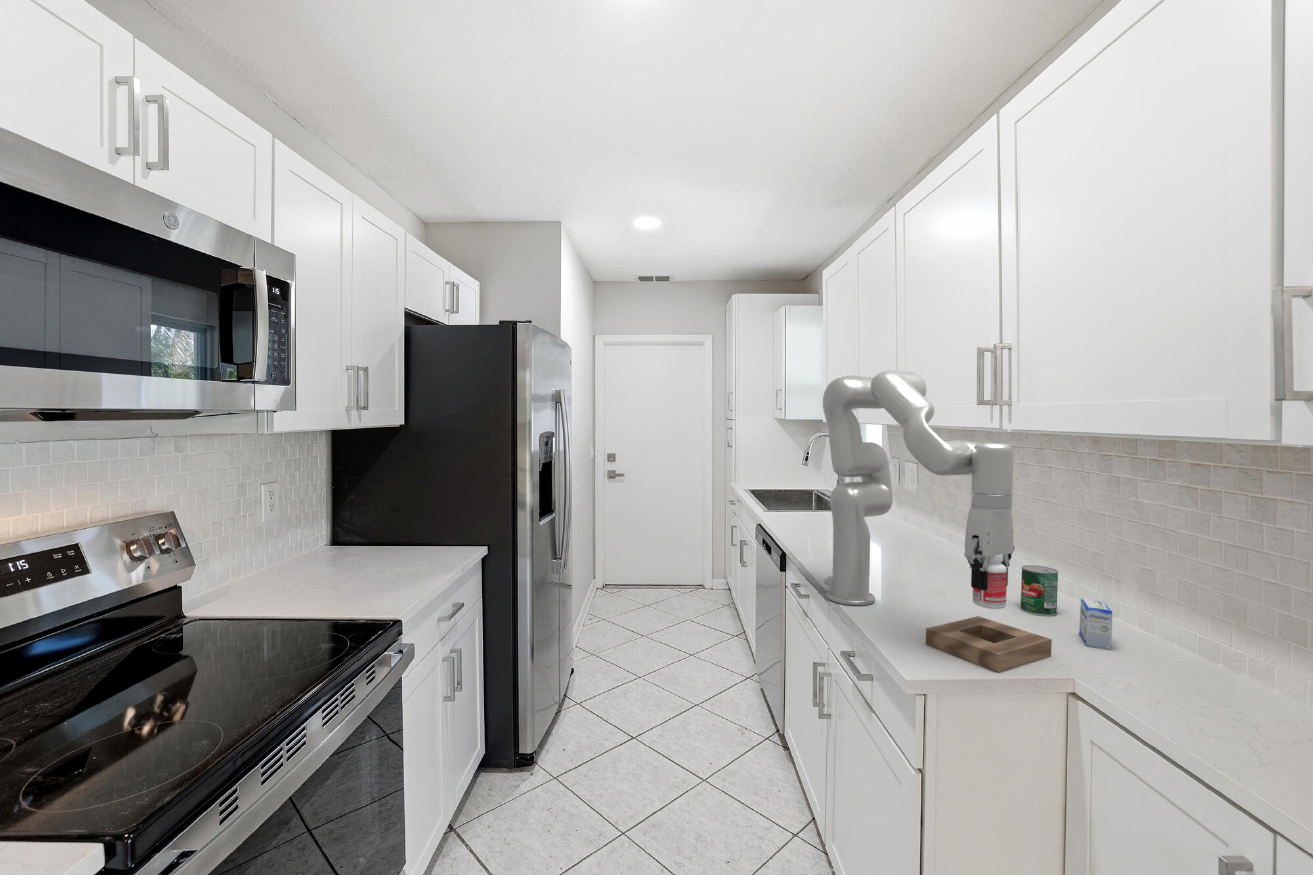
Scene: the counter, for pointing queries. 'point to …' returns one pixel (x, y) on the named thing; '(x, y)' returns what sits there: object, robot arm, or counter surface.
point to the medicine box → (1095, 623)
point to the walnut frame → (989, 643)
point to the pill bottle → (993, 585)
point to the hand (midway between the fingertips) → (989, 586)
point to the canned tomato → (1039, 590)
